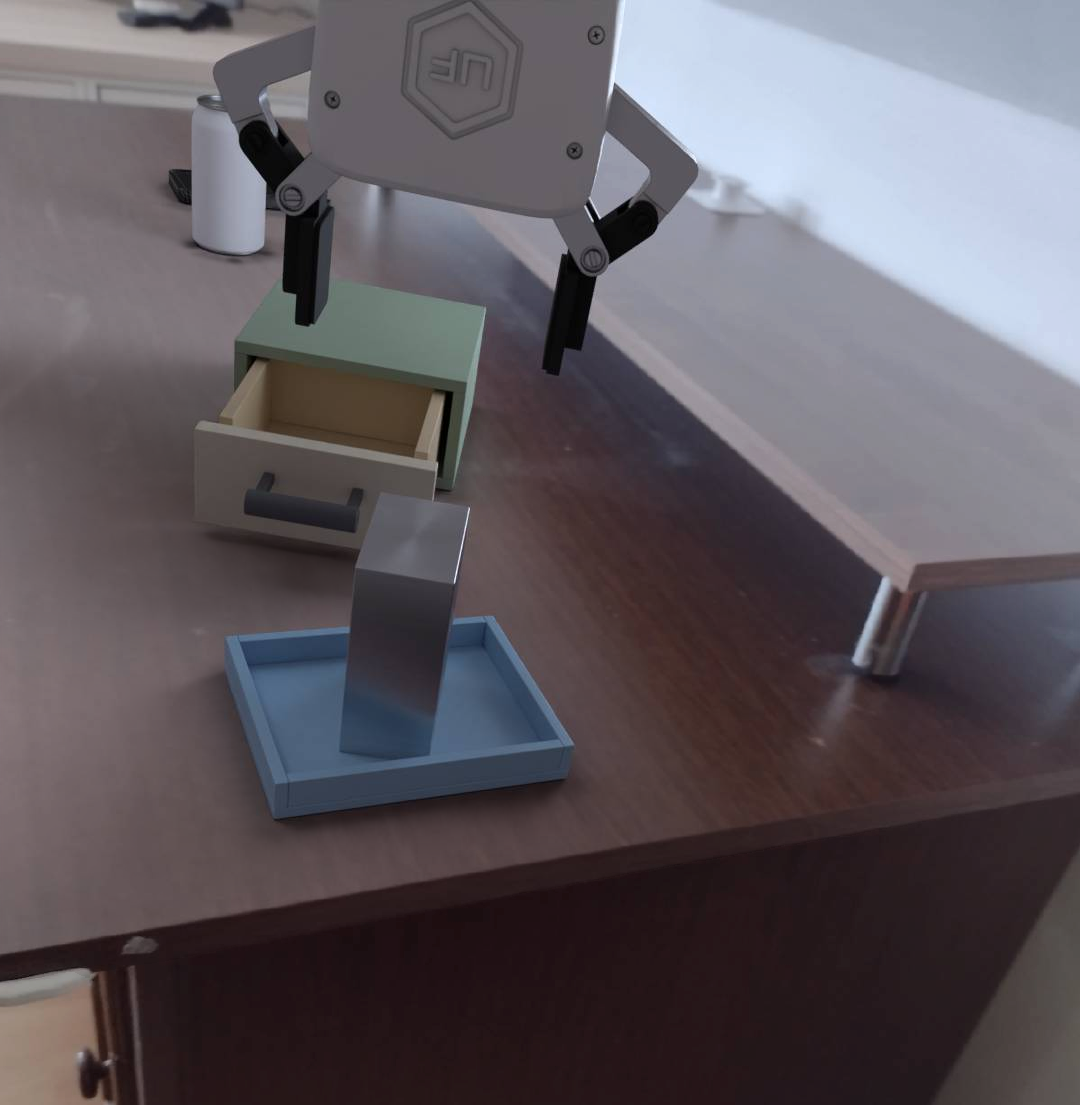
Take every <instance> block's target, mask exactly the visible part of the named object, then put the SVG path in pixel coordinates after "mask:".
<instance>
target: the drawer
mask: <svg viewBox="0 0 1080 1105" xmlns="http://www.w3.org/2000/svg"><path fill="white" fill-rule="evenodd" d="M446 399H447V391H446V390H441V389H435V388H430V387H424V386H419V385H413V384H408V383H402V382H397V381H391V380H386V379H380V378H375V377H369V376H364V375H358V374H353V373H347V372H342V371H336V370H331V369H325V368H320V367H314V366H309V365H303V364H298V363H292V362H287V361H281V360H276V359H270V358H265V357H259V356H258V358H257V359H256V361H255V362H254V364H253V365H252V367H251V368H250V370H249V371H248V373H247V374H246V376H245V377H244V379H243V380H242V382H241V384H240V385H239V387H238V388H237V390H236V391H235V393H234V392H233V394H232V396H231V397H230V399H229V400H228V402H227V403H226V405H225V406H224V408H223V410H222V411H221V413H220V414H219V415H218V422H213V421H208V420H207V421H206V420H199V421H198V423H197V424H196V426H195V427H194V432H193V433H194V435H193V436H194V442H193V443H194V522H195V523H196V522H197V523H202V524H209V525H213V526H218V527H219V526H220V527H225V528H230V529H231V528H232V529H236V530H237V529H238V530H241V531H249V532H255V533H260V534H265V535H272V536H279V537H284V538H290V539H296V540H300V541H301V540H302V541H307V542H312V543H318V544H323V545H331V546H336V547H341V548H342V547H343V548H348V549H353V550H359V551H361V548H362V545H363V542H364V539H365V536H366V533H367V530H368V527H369V524H370V521H371V518H372V515H373V512H374V509H375V506H376V503H377V500H378V498H379V495H380V492H385V493H391V494H396V495H402V496H408V497H414V498H419V499H425V500H431V501H435V500H434V499H435V490H436V488H435V485H436V477H437V469H438V458H439V453H440V445H441V438H442V430H443V422H444V414H445V407H446Z"/></svg>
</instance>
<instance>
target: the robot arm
mask: <svg viewBox="0 0 1080 1105" xmlns="http://www.w3.org/2000/svg"><path fill="white" fill-rule="evenodd" d="M317 2H318V4H317V11H316V20H315V23H312V24H309V25H306V26H303V27H300V28H298V29H295V30H292V31H289V32H287V33H283V34H281V35H278V36H276V37H272V38H269V39H266V40H265V41H262V42H259V43H256V44H253V45H250V46H248V47H244V48H242V49H239V50H237V51H236V50H235V51H234V52H231V53H229V54H227V55H226V56H224V57H222V58H221V59H219V60H218V61H216V62H215V64H213V67H212V76H213V80H214V83H215V86H216V88H217V90H218V94H219V95H221V98H222V100H223V102H224V105H225V107H226V110H227V112H228V114H229V117H230V119H231V122H232V124H233V123H234V126H235V128H236V130H237V133H238V135H239V145H240V148H241V150H242V151H243V153H244V154H245V155H246V157H247V158H248V159H249V161H250V162H251V163H252V165H253V166H254V167H255V169H256V170H257V171H258V173H259V174H260V175H261V176H262V178H263V179H264V180H265V182H266V183H267V184H268V186H269V187H270V188H271V190H272V191H273V192H274V193H275V199H276V202H277V205H278V207H279V208H280V209H279V210H280V211H281V212H282V213H283V214H285V219H284V220H285V222H284V242H283V262H282V274H283V278H282V288H283V292H286V293H291V294H296V306H295V324H296V325H300V326H306V327H309V326H310V325H311V324H314V325H315V323H316V321H317V320H318V318H319V316H320V314H321V313H322V311H323V309H324V307H325V306H326V304H327V300H328V292H329V278H331V262H332V248H333V237H334V223H335V206H332V205H331V202H332V200H331V199H330V198H329V199H328V193H329V192H328V191H329V189H330V188H331V187H332V186H333V185H334V184H336V182H338V181H339V179H340V178H342V177H344V178H346V179H349V180H353V181H356V182H359V183H363V184H367V185H373V186H376V187H381V188H385V189H390V190H394V191H395V190H396V191H400V192H404V193H409V194H415V195H419V196H424V197H430V198H433V199H438V200H443V201H448V202H453V203H458V204H461V205H462V204H463V205H467V206H473V207H477V208H482V209H487V210H492V211H497V212H502V213H507V214H513V215H518V216H524V217H528V218H529V217H530V218H536V219H537V218H538V219H549V220H550V219H551V220H552V221H553V222H554V225H555V227H556V228H557V230H558V232H559V234H560V236H561V238H562V240H563V242H564V243H565V245H566V247H567V252H566V253H561V257H560V261H559V266H558V270H557V278H556V282H555V287H554V292H553V298H552V302H551V303H552V304H551V309H550V314H549V319H548V323H547V329H546V334H545V341H544V346H543V356H542V362H541V370H543V371H546V372H545V374H546V375H549V376H550V375H551V376H555V377H560V372H561V368H562V363H563V358H564V353H565V349H568V350H574V351H577V352H582V350H583V345H584V341H585V336H586V331H587V327H588V322H589V316H590V312H591V308H592V302H593V297H594V293H595V288H596V283H597V279H598V276H601V275H602V274H604V273H605V272H606V271H607V269H608V267H609V265H611V264H612V263H614V262H615V261H617V260H618V259H619V258H622V257H623V256H624V255H626V254H627V253H629V252H630V251H631V250H633V249H634V248H636V247H638V246H639V245H640V244H643V243H644V242H645V241H646V240H648V239H649V238H651V237H652V236H653V235H654V234H655V233H656V231H657V230H658V227H659V225H660V224H661V223H662V221H663V220H664V219H665V218H666V217H667V215H669V214H670V213H671V211H673V209H674V208H675V207H676V205H677V204H678V203H679V202H680V201H681V199H682V198H683V197H684V196H685V194H687V192H688V191H689V189H690V188H691V187H692V185H693V184H694V183H695V182H696V180H697V179H698V176H699V166H698V161H697V157H696V155H695V154H694V153H693V151H691V150H690V149H689V148H688V147H687V146H686V145H685V144H684V143H682V141H681V140H679V139H678V138H677V137H676V136H675V135H673V133H672V132H670V131H669V129H667V128H666V127H665V126H663V125H662V124H661V122H660V121H658V120H657V119H656V118H654V117H653V115H651V114H650V113H649V112H648V110H646V109H645V108H644V107H643V106H641V104H639V103H638V102H637V101H636V100H635V99H634V98H633V97H631V96H630V95H629V94H628V93H627V92H626V91H625V90H624V89H623V88H621V86H620V85H618V84H617V83H616V82H615V78H616V74H617V73H616V72H617V66H618V60H619V53H620V46H621V39H622V32H623V26H624V20H625V19H624V18H625V11H626V4H627V3H626V2H627V0H318V1H317ZM307 72H310V75H309V76H310V77H309V88H308V98H307V115H306V116H307V118H306V120H307V121H306V125H307V126H306V129H307V132H306V133H307V141H308V146H309V150H310V152H309V153H308V154H307V155H306V156H305V157H304V155H303V154H302V153H301V152H300V151H299V149H298V147H297V145H295V144H294V142H293V141H292V140H291V138H290V137H289V136H288V134H287V133H286V131H285V130H284V129H283V127H282V125H280V123H279V122H278V121H277V120H276V119H275V117H274V114H273V113H272V112H273V111H272V109H271V104H270V101H269V99H268V95H267V92H268V87H269V86H271V85H273V84H276V83H279V82H282V81H286V80H288V79H290V78H293V77H296V76H299V75H302V74H305V73H307ZM606 133H608V134H609V135H610V136H612V137H613V138H614V139H615V140H616V141H617V142H619V143H620V145H622V146H623V147H624V148H625V149H626V150H628V152H630V153H631V154H632V155H633V156H634V157H635V158H636V159H638V160H639V161H640V163H642V164H643V165H644V166H646V168H647V169H648V170H649V172H648V175H647V177H646V179H645V180H644V181H643V182H642V184H641V186H640V188H639V189H638V190H637V192H636V193H635V194H634V195H633V196H631V197H629V198H628V199H627V200H625V201H624V202H623V203H621V204H620V205H618V206H617V207H615V208H613V209H612V210H611V211H609V212H608V213H607V214H605V215H603V216H602V217H601V215H600V214H599V211H598V209H597V207H596V206H595V204H594V202H593V200H592V198H591V195H592V192H593V189H594V186H595V183H596V179H597V175H598V171H599V166H600V162H601V158H602V154H603V149H604V145H605V144H604V143H605V138H606Z"/></svg>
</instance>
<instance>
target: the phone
mask: <svg viewBox="0 0 1080 1105" xmlns="http://www.w3.org/2000/svg"><path fill="white" fill-rule="evenodd" d="M168 184H169V186H170V187H171V188H170V189H172V191H173V193H174V195H175V196H176V198H177V200H178V201H179V202H182V203H185V204H192V169H186V168H185V169H183V168H171V169H169V170H168ZM265 209H276V210H277V209H278V210H280V208H279V207H278V205H277V202H276V199H275V193H274V192H273V191H272V190H271V188H270V187H269V186H268V184H267V183H266V206H265Z"/></svg>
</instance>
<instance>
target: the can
mask: <svg viewBox="0 0 1080 1105" xmlns="http://www.w3.org/2000/svg"><path fill="white" fill-rule="evenodd" d="M196 102H197V104H196V107H195V109H194V111H193V113H192V115H191V170H192V203H191V226H192V227H191V233H192V239H193V241H195V243H196V244H197V246H198V247H200V248H202V249H203V250H206V251H208V252H212V253H216V254H220V255H227V256H247V255H248V256H249V255H254V254H257V253H259V252H260V251H261V249H262V248H263V247H264V246H265V236H266V235H265V234H266V233H265V232H266V208H265V206H266V182H265V180H264V179H263V178H262V176H261V175H260V174H259V173H258V171H257V170H256V169H255V167H254V166H253V165H252V163H251V162H250V161H249V159H248V158H247V157H246V155H245V154H244V153H243V151H242V150H241V148H240V145H239V135H238V133H237V130H236V128H235V126H234V123H233V124H232V122H231V119H230V117H229V114H228V112H227V110H226V107H225V105H224V102H223V100H222V98H221V95H220V94H204V95H199V96H197V97H196Z"/></svg>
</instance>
